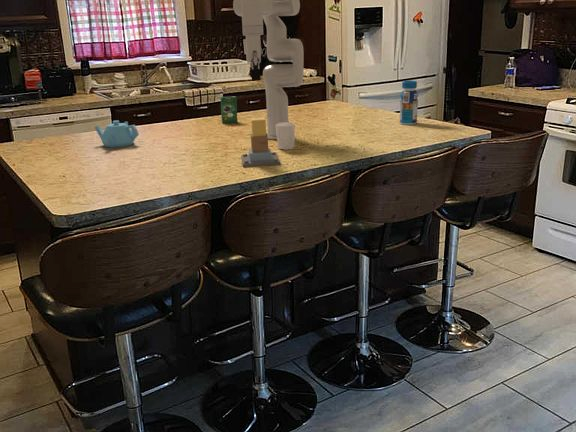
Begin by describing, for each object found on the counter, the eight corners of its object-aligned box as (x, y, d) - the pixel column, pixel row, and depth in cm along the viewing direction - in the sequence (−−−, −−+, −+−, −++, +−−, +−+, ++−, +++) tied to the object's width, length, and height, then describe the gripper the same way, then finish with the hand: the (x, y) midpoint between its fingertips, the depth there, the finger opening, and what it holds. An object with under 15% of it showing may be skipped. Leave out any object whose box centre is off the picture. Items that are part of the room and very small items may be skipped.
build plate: (241, 158, 237) (240, 147, 236) (276, 155, 238) (276, 145, 237) (242, 166, 224) (242, 155, 223) (280, 164, 225) (279, 153, 224)
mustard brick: (252, 133, 230) (251, 118, 228) (265, 133, 231) (264, 117, 229) (252, 136, 225) (251, 120, 223) (266, 135, 226) (265, 119, 224)
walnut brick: (251, 149, 232) (250, 133, 231) (267, 148, 233) (266, 132, 231) (252, 152, 227) (251, 136, 225) (268, 151, 227) (267, 135, 225)
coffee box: (237, 121, 313) (235, 95, 309) (238, 122, 311) (236, 96, 306) (221, 122, 312) (219, 96, 307) (222, 123, 309) (220, 97, 305)
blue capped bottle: (396, 122, 294) (397, 80, 288) (411, 121, 297) (413, 79, 290) (404, 125, 287) (405, 82, 280) (420, 124, 289) (422, 81, 282)
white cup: (279, 150, 247) (278, 126, 243) (274, 147, 254) (273, 123, 251) (297, 149, 249) (297, 124, 245) (292, 145, 256) (291, 121, 252)
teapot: (107, 150, 259) (103, 125, 255) (96, 144, 271) (92, 120, 267) (141, 145, 267) (138, 120, 263) (129, 139, 279) (126, 116, 275)
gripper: (241, 30, 228) (244, 76, 234) (243, 32, 212) (246, 82, 218) (261, 29, 229) (263, 75, 234) (265, 31, 213) (267, 81, 218)
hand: (255, 78), depth 226 cm, fingers open, 9 cm apart
